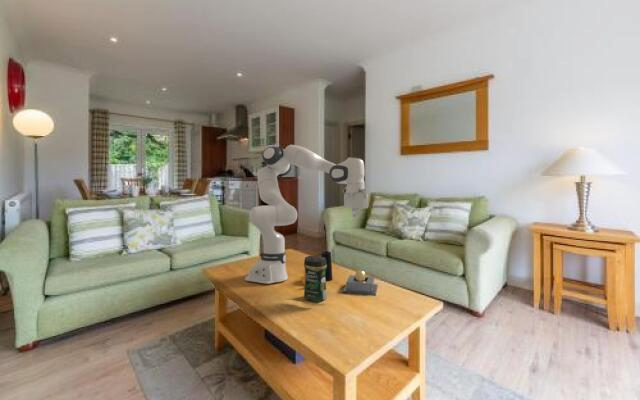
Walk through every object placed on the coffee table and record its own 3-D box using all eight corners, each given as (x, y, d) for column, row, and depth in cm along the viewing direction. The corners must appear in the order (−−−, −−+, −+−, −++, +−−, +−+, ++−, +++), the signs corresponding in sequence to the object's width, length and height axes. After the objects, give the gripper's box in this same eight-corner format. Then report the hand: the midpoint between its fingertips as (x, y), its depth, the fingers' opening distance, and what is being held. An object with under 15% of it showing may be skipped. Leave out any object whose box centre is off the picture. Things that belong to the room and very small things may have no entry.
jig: (342, 292, 131) (342, 282, 131) (347, 283, 145) (347, 274, 145) (375, 295, 128) (375, 284, 128) (377, 285, 141) (377, 276, 141)
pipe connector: (315, 285, 143) (313, 256, 142) (310, 282, 148) (308, 254, 147) (334, 280, 149) (332, 252, 148) (329, 278, 154) (327, 250, 153)
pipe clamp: (300, 282, 148) (300, 270, 148) (308, 281, 150) (308, 269, 150) (310, 289, 137) (310, 276, 137) (318, 288, 139) (318, 275, 139)
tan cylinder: (355, 289, 134) (355, 272, 134) (356, 286, 138) (356, 269, 138) (364, 289, 133) (364, 272, 133) (365, 286, 137) (365, 270, 137)
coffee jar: (301, 299, 123) (300, 256, 123) (311, 294, 130) (311, 253, 130) (319, 303, 118) (319, 259, 118) (329, 298, 125) (329, 255, 124)
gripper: (371, 188, 134) (372, 218, 134) (352, 190, 153) (352, 215, 153) (359, 188, 132) (360, 218, 132) (341, 190, 151) (341, 216, 151)
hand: (355, 217), depth 143 cm, fingers closed
